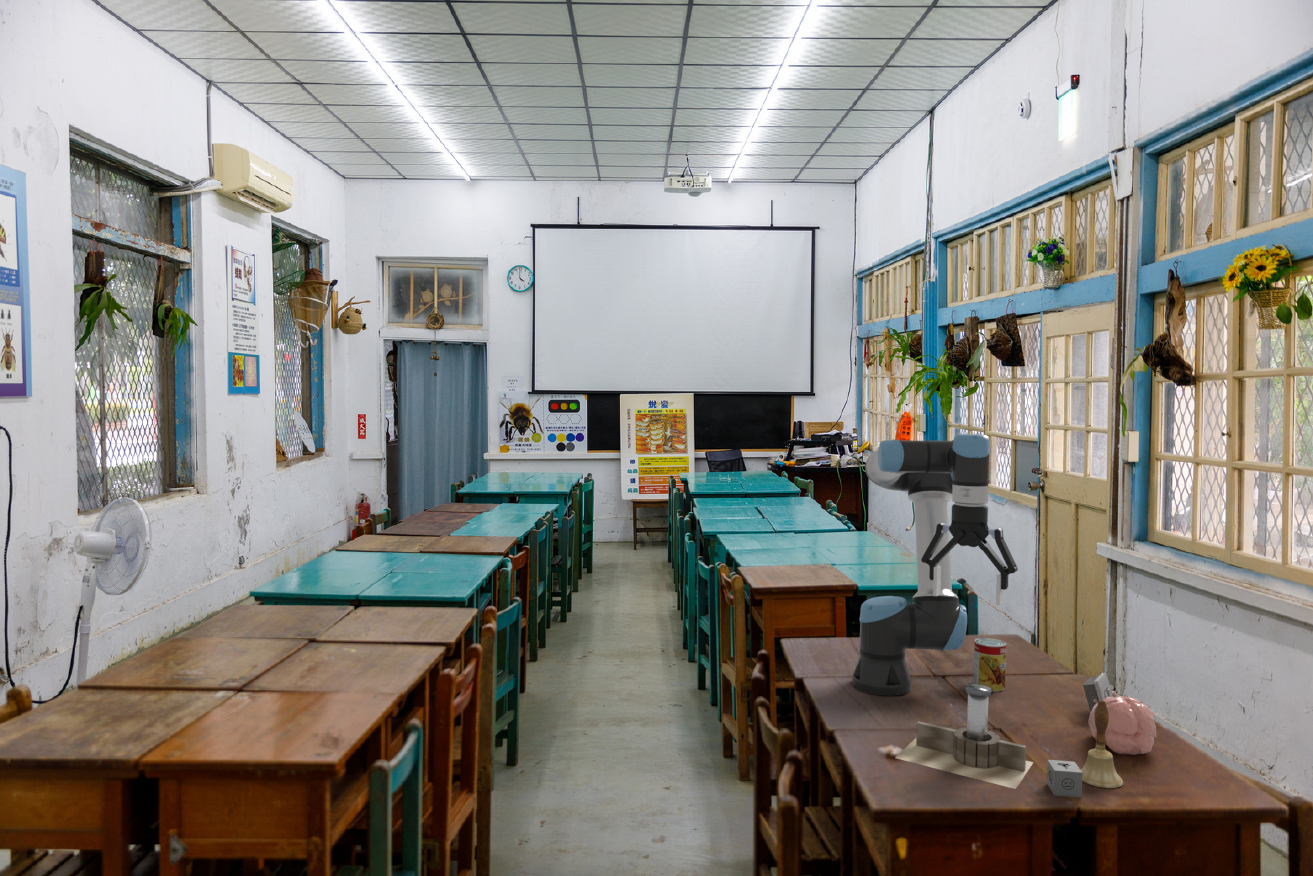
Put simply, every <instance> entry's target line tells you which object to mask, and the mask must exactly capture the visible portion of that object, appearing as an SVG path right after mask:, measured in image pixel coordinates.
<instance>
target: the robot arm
mask: <svg viewBox="0 0 1313 876" xmlns="http://www.w3.org/2000/svg"><path fill="white" fill-rule="evenodd" d="M990 448H991V447H990V438H989V436H988V435H987V434H978V433H959V434H956V435H954V437H953V439H952V440H908V439H906V440H905V439H900V440H899V439H890V440H889V439H888V440H887V439H885V440H882V441H880V442H879V444H878V450H875V451H874V452H872V453H871V454H870V455H869V456H868V457H867V460H866V461H865V464H864V468H865V474H866V476H867V478H868V479H869V480H870V482H872V483H873V484H874V485H876V486H878V487H881V488H883V489H886V490H888V491H889V490H890V491H900V492H904V491H905V492H907V495H908V497H907V498H908V500H909V501H910V502H912V503H913V505H914V524H915V527H914V529H915V548H916V572H917V592H916V593H915V594H914V595H913V596H912V603H908V601H907V600H906V599H905V597H902V596H894V595H885V596H884V595H883V596H876V597H872V598H869V599H867V600H865V601H863V603H862V604H861V606H860V615H859V624H860V625H859V627H860V628H859V629H860V630H859V656H858V659H857V661H856V665H855V667H854V671H853V672H852V677H851V681H852V682H851V684H852V686H853V687H854V688H855V689H856V690H859V691H860V692H863V693H866V694H871V695H877V696H889V697H890V696H891V697H892V696H901V695H905V694H907V693H910V692H911V691H912V678H911V675H910V674H911V673H910V672H909V668H908V665H907V662H906V649H910V650H931V651H932V650H933V651H941V652H943V651H956V650H959V649H960V648H962V646H963V644H964V641H965V638H966V634H967V626H968V613H967V607H966V606H965V605H962V604H960V601H959V599H960V598H959V596H957V594H956V593H954V592H953V588H952V584H953V583H952V569H951V567H952V565H951V551H952V550H953V548H954V547H955V546H956V545H959V546H960V547H966V546H967V547H971V548H977V547H978V548H979V549H980V550H981V551H983V553H984V554H985V556H986V557H987V558H988V560H990V562H991V563H992V565H993V566H994V567H995V569H996V570H997V571H998V572H999V573H998V574H996V584H995V585H996V588H995V590H996V591H995V592H996V593H995V605H996V606H1001V605H1003V603H1004V591H1005V590H1007V589H1008V588H1009V575H1010V574H1015V573H1016V572H1017V571H1019V568H1018V566H1017V563H1016V561H1015V559H1014V557H1013V554H1012V553H1011V551H1010V549H1009V547H1008V545H1007V542H1006V540H1005V538H1004V530H1003V528H1001V527H998V528H990V527H989V526H988V522H989V521H988V520H989V507H988V506H987V505H986V504H988V503H989V474H990V454H991V449H990ZM950 500H951V501H952V502H953V503H954V504H952V505H951V521H950V522H951V523H950V524H949V515H948V514H949V513H948V502H949V501H950ZM950 535H952V538H951V539H950ZM989 535H991V538H992V539H993V540H995V544H996V546H997V549H998V550H999V553H1000V554H1001V557H1002V559H1003V560H1002V559H1001V558H1000V557H999V555H998V554H997V552H996V551H995V550H994V549H993V548H992V547H991V544H990V543H989V541H988V540H987V537H988V536H989ZM1003 561H1004V562H1005V563H1004V562H1003Z"/></svg>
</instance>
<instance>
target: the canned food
mask: <svg viewBox="0 0 1313 876" xmlns="http://www.w3.org/2000/svg"><path fill="white" fill-rule="evenodd" d="M973 643H974V645H973V646H974V648H973V678H972V679H973V684H978V685H984V686H987V687H989V688H991V693H992V692H994V693H995V692H998V693H999V692H1003V691H1004V690H1006V676H1007V674H1006V672H1007V671H1006V669H1007V642H1005V641H1004V640H1002V639H999V638H991V637H979V638H975V639H974V641H973Z"/></svg>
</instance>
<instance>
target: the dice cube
mask: <svg viewBox="0 0 1313 876" xmlns="http://www.w3.org/2000/svg"><path fill="white" fill-rule="evenodd" d="M1046 769H1047V771H1046V772H1047V773H1046V777H1047V778H1046V785H1047V786H1048V789H1049V790H1050V791H1051V793H1052V794H1053V796H1057V797H1070V798H1082V796H1083V795H1082V794H1083V781H1082V771H1081V768H1080V766H1078V765H1077V763H1076V762H1075V761H1072V760H1071V761H1069V760H1068V761H1067V760H1058V759H1057V760H1056V759H1047V768H1046Z"/></svg>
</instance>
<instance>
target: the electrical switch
mask: <svg viewBox="0 0 1313 876" xmlns="http://www.w3.org/2000/svg"><path fill="white" fill-rule="evenodd" d="M1082 685H1083V686H1082V687H1083V690H1084V694H1085V697H1086V701H1087V705H1088V709H1089V713H1090V712H1091V711H1092V709H1093V707H1094V706H1095V705H1096V704H1097V703H1098V701H1099V700H1103V699H1105V698H1107V697H1114V696H1113V691H1112V688H1111V684H1110V682H1109V677H1108V675H1107V673H1106V672H1101V673H1100V675H1097V676H1090V677H1088V678H1087V680H1086V681H1085V682H1084V683H1083V684H1082Z"/></svg>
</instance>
